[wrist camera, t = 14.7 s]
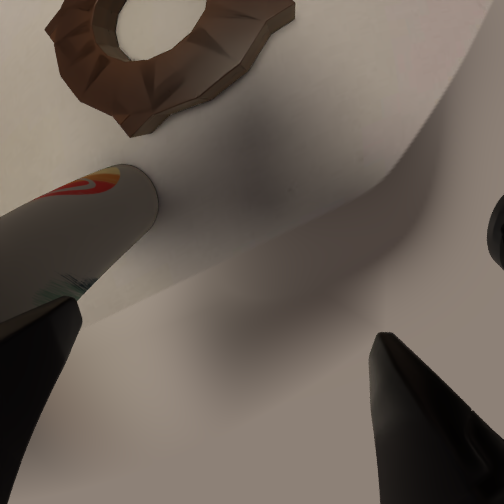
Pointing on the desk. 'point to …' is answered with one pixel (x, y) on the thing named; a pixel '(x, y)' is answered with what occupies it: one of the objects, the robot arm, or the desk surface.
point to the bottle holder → (160, 58)
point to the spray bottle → (71, 236)
